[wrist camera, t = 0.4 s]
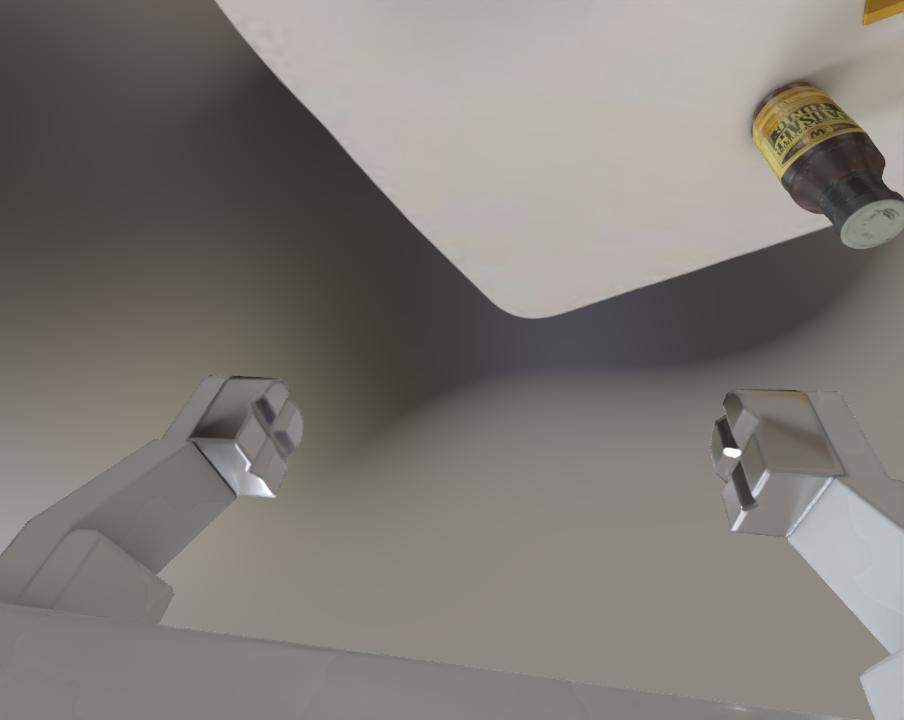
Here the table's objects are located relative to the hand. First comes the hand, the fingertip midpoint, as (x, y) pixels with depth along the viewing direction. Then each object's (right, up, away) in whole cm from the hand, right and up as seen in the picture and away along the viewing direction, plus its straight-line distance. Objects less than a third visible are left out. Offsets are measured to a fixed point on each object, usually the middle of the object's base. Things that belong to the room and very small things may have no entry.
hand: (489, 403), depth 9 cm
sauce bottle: (+31, +25, +38) cm, 55 cm away
